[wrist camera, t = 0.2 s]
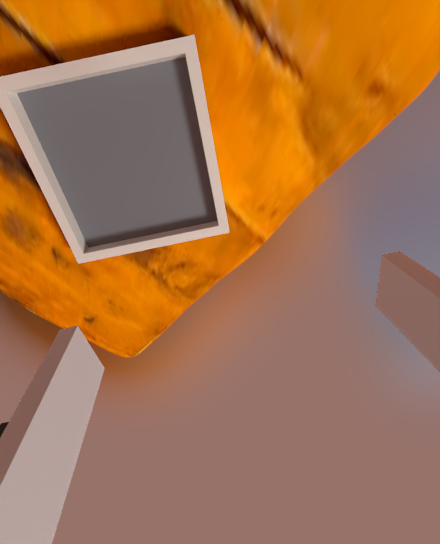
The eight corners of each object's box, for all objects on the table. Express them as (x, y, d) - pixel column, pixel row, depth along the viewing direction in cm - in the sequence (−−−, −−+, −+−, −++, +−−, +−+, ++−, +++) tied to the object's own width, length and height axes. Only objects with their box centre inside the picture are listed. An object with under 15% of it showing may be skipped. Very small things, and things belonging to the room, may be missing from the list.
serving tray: (4, 82, 29) (-14, 79, 27) (194, 42, 29) (194, 34, 26) (85, 253, 39) (78, 263, 37) (227, 224, 39) (229, 232, 36)
